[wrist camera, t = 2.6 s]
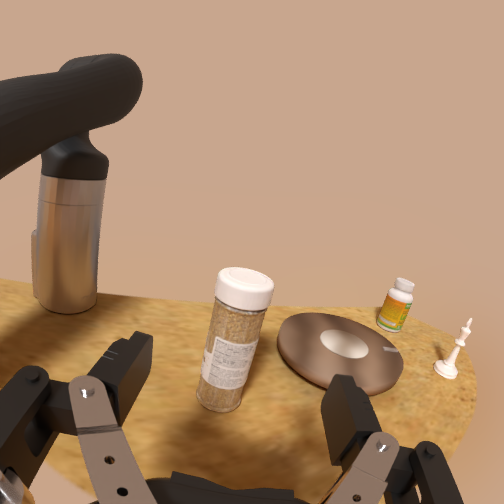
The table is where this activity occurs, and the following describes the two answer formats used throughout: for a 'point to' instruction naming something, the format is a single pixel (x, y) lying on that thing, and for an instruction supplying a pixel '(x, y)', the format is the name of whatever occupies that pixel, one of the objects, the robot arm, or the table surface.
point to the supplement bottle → (396, 306)
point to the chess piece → (452, 355)
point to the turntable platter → (339, 351)
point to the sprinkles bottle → (232, 336)
